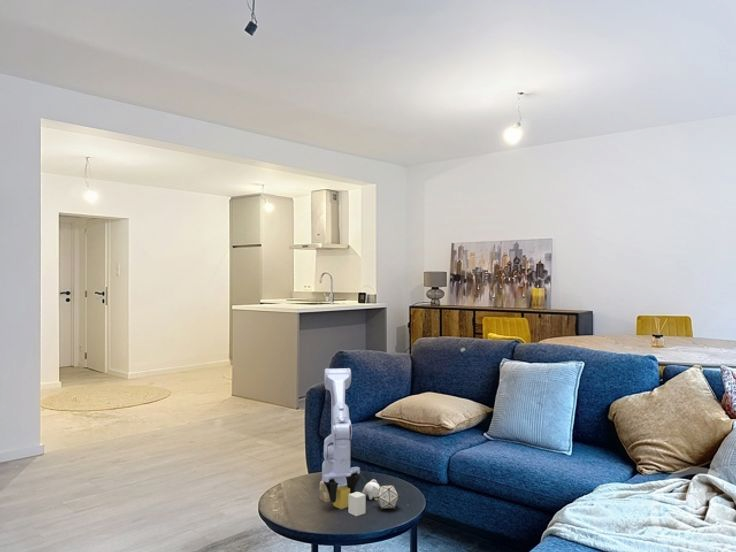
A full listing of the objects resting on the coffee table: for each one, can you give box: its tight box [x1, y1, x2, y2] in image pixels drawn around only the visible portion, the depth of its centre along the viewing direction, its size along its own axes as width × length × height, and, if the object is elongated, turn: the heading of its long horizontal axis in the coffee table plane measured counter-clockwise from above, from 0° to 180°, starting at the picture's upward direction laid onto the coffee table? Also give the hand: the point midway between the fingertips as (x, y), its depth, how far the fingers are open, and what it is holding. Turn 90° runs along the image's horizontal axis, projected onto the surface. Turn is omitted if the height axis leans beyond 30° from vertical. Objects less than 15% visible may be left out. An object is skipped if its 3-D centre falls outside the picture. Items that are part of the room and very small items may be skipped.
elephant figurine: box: [361, 478, 380, 501], centre depth 199 cm, size 7×8×6 cm
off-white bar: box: [347, 491, 367, 517], centre depth 186 cm, size 4×4×6 cm
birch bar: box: [319, 480, 331, 503], centre depth 198 cm, size 4×4×6 cm
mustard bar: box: [333, 485, 350, 510], centre depth 192 cm, size 4×4×6 cm
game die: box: [373, 482, 402, 511], centre depth 190 cm, size 9×8×10 cm
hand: (341, 498), depth 192 cm, fingers open, 7 cm apart
